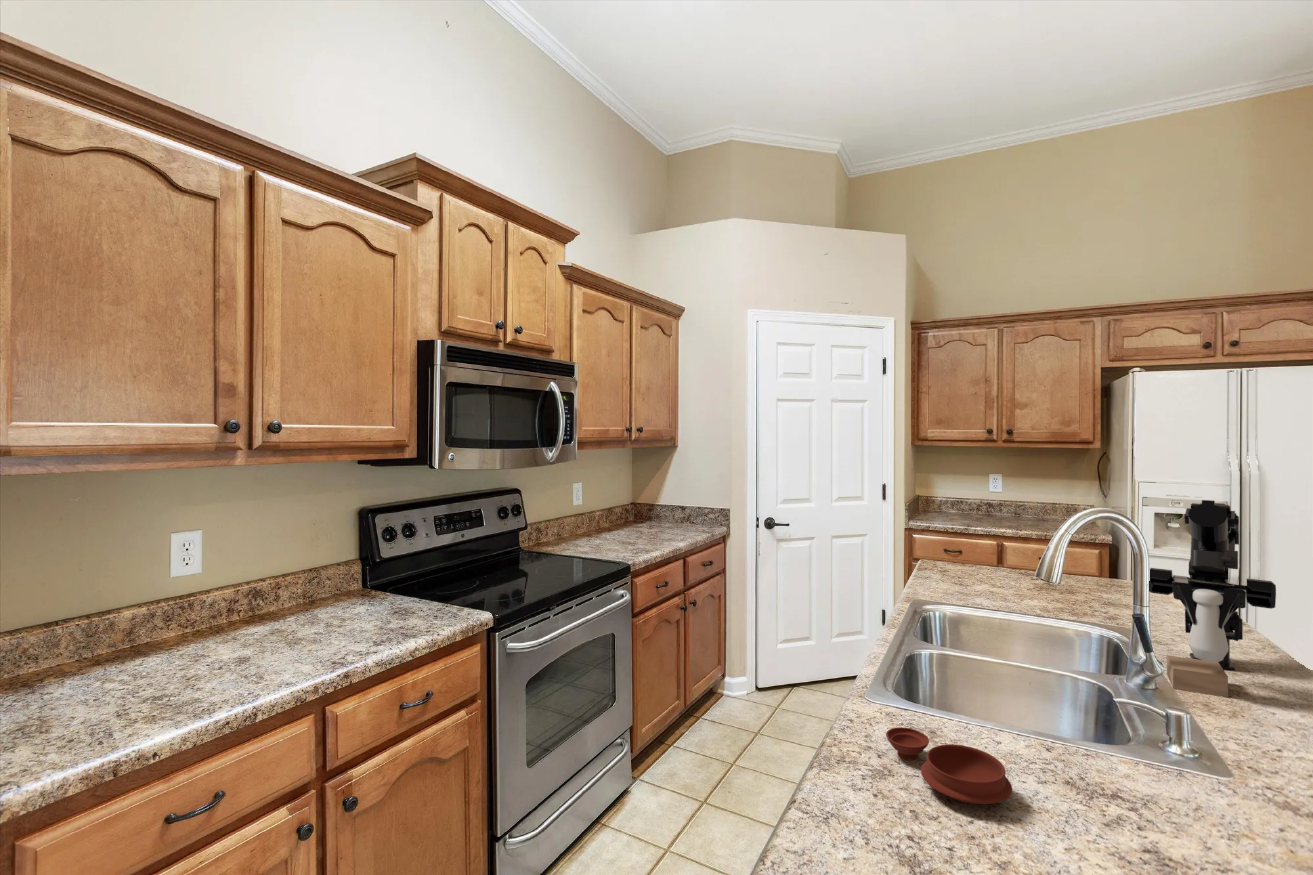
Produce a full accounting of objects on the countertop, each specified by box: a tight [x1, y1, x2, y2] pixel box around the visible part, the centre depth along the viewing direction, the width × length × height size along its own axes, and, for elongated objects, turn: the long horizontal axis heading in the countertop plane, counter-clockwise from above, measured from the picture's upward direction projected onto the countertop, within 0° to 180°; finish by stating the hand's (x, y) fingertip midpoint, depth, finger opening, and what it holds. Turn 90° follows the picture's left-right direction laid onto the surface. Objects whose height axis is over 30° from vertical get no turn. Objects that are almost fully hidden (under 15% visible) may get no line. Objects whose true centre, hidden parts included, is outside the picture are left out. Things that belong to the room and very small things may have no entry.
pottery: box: [885, 726, 1013, 805], centre depth 93 cm, size 12×20×4 cm, turn 23°
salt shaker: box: [1187, 589, 1229, 662], centre depth 119 cm, size 6×6×13 cm
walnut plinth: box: [1166, 654, 1229, 698], centre depth 123 cm, size 8×8×4 cm
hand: (1207, 625), depth 118 cm, fingers closed on salt shaker, 3 cm apart
